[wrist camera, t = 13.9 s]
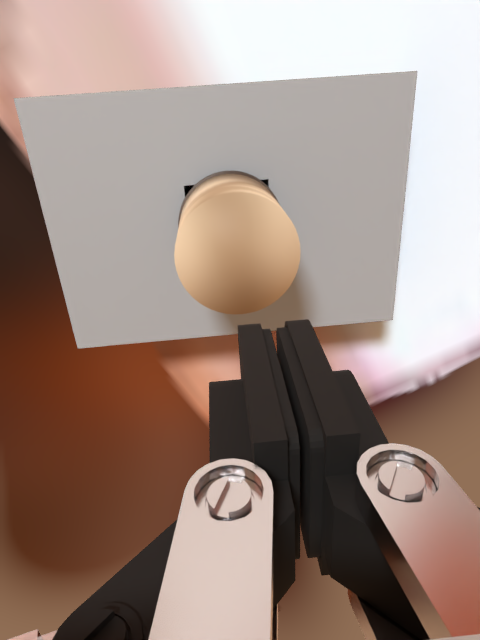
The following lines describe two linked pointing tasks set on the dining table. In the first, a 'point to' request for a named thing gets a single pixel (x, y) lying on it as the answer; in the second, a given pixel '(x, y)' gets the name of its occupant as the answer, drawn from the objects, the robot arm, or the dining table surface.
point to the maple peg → (235, 244)
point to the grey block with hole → (211, 157)
